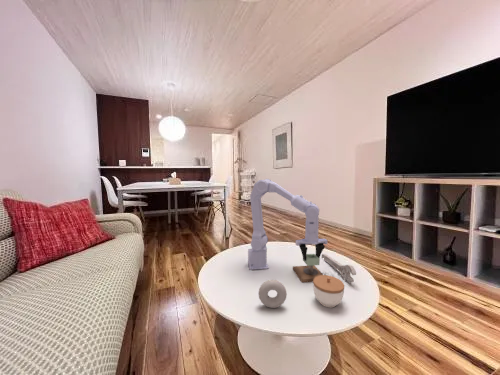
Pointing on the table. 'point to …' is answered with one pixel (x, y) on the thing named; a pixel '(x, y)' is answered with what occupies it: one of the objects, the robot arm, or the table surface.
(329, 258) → the wrench
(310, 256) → the collar
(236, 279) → the table surface
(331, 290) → the lidded jar
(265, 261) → the robot arm
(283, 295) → the donut
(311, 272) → the peg base
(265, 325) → the table surface
